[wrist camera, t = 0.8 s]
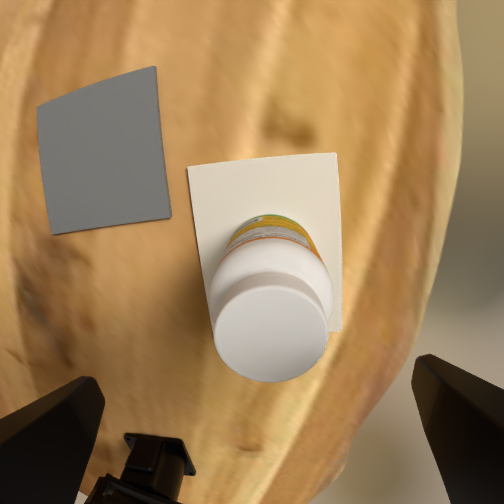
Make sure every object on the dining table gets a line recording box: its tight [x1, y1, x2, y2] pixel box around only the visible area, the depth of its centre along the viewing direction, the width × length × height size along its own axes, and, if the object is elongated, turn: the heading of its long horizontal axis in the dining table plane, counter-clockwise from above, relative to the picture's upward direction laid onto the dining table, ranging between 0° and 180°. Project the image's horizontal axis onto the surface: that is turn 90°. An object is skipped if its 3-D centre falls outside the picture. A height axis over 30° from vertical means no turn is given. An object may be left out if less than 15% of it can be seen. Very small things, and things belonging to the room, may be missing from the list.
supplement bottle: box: [209, 214, 334, 383], centre depth 15 cm, size 5×5×10 cm
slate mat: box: [37, 66, 172, 235], centre depth 18 cm, size 10×10×1 cm
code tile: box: [187, 153, 342, 336], centre depth 20 cm, size 12×9×1 cm
